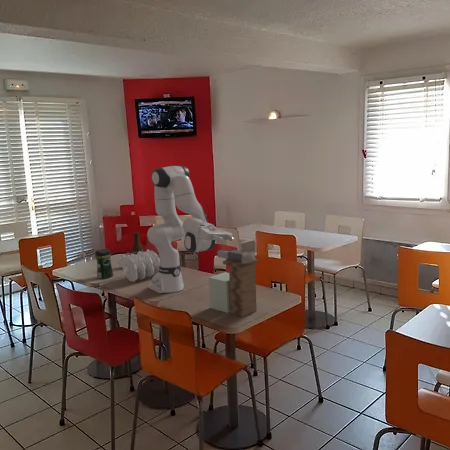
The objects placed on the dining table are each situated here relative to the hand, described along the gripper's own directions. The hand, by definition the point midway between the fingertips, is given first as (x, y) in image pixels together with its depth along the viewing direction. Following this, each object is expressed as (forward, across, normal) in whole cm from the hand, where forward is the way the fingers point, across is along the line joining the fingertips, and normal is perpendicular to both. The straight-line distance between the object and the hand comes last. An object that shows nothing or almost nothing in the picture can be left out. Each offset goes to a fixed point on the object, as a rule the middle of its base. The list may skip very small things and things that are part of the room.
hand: (227, 239), depth 229 cm
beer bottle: (-98, -35, -50) cm, 115 cm away
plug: (+5, 0, -8) cm, 9 cm away
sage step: (+5, -6, -34) cm, 35 cm away
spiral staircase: (-71, -16, -48) cm, 87 cm away
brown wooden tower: (+16, -5, -32) cm, 36 cm away
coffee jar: (-94, -5, -55) cm, 109 cm away
